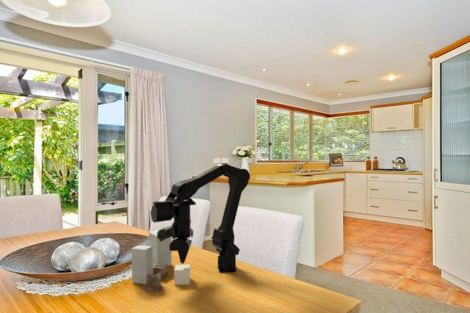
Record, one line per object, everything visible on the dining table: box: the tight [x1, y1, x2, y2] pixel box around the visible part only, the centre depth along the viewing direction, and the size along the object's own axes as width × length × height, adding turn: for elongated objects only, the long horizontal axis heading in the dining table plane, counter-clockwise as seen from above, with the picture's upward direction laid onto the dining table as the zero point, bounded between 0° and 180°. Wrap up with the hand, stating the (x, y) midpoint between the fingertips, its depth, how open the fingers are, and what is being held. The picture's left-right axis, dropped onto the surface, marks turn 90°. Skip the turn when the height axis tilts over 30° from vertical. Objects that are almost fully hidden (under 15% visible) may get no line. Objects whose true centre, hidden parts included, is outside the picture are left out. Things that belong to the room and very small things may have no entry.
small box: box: [148, 229, 172, 267], centre depth 121 cm, size 8×6×13 cm
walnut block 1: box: [153, 263, 169, 280], centre depth 110 cm, size 4×4×4 cm
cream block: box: [173, 264, 191, 286], centre depth 105 cm, size 5×5×5 cm
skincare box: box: [131, 244, 153, 285], centre depth 105 cm, size 6×4×12 cm
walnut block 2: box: [145, 273, 162, 293], centre depth 100 cm, size 4×4×4 cm
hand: (182, 263), depth 105 cm, fingers closed
